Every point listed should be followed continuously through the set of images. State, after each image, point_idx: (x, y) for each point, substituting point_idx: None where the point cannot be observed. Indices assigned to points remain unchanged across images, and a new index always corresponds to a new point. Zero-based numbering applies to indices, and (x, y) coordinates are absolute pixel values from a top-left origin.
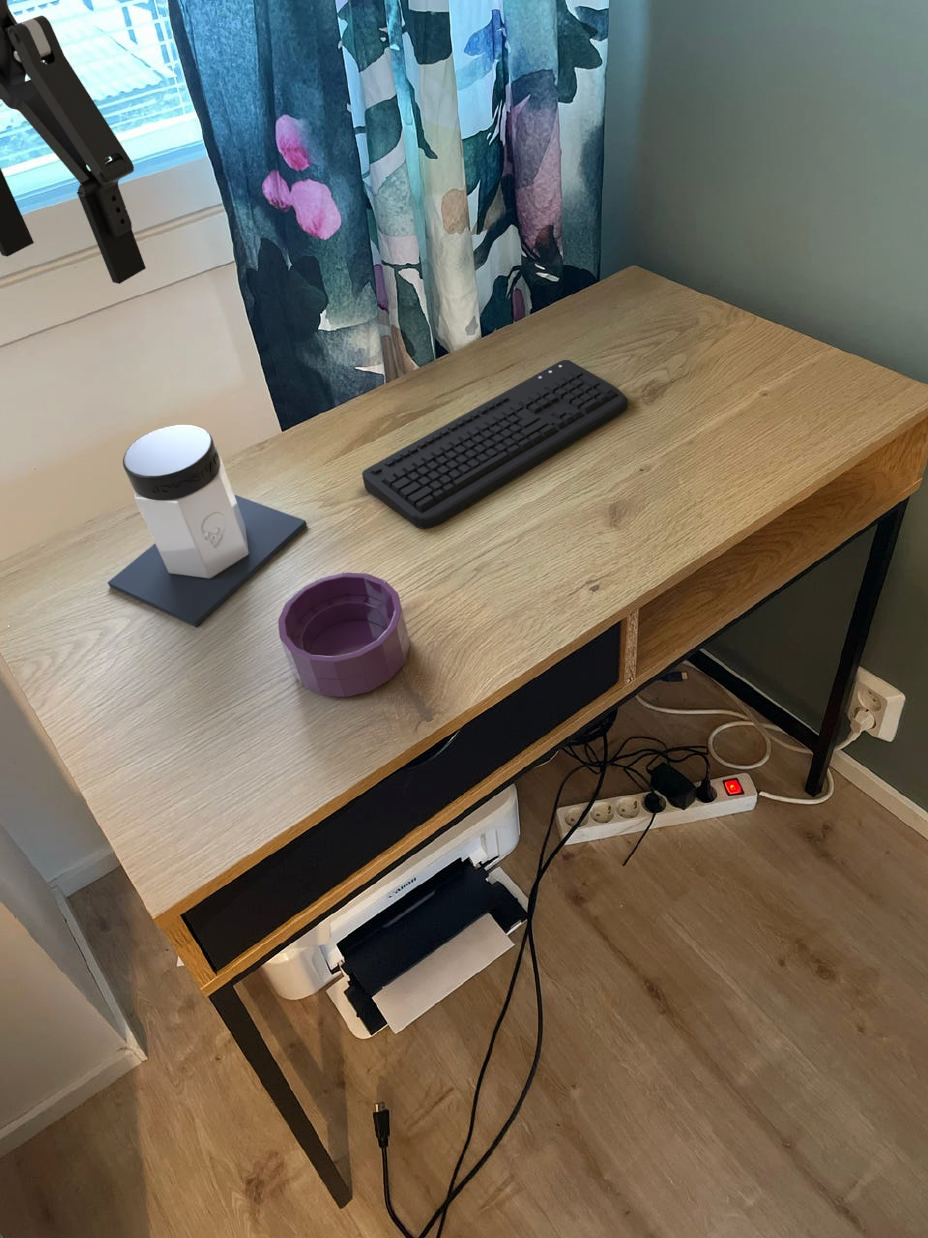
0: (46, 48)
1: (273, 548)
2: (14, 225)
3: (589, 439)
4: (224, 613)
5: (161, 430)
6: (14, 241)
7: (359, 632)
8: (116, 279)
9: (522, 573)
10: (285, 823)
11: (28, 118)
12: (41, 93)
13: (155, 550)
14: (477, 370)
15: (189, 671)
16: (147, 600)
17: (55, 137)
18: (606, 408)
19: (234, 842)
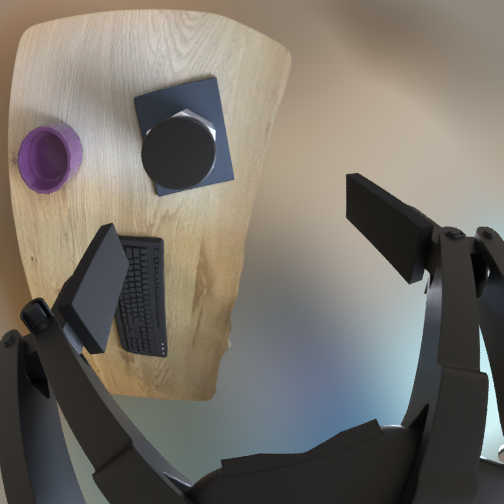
0: None
1: None
2: (361, 216)
3: (114, 325)
4: (131, 115)
5: (208, 166)
6: (352, 198)
7: (61, 164)
8: (101, 227)
9: (53, 246)
10: (13, 83)
11: (108, 422)
12: (25, 470)
13: (216, 114)
14: (204, 334)
15: (109, 79)
16: (176, 86)
17: (52, 389)
18: (123, 342)
19: (20, 61)
